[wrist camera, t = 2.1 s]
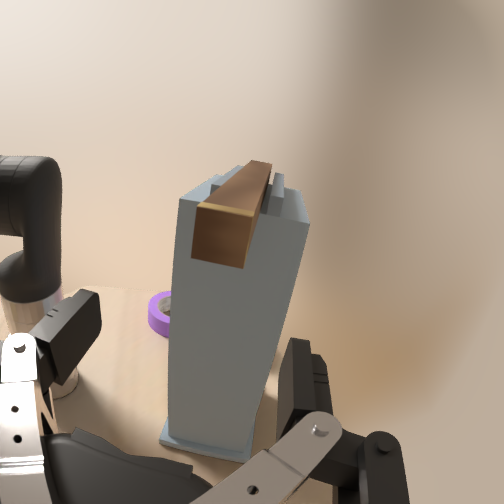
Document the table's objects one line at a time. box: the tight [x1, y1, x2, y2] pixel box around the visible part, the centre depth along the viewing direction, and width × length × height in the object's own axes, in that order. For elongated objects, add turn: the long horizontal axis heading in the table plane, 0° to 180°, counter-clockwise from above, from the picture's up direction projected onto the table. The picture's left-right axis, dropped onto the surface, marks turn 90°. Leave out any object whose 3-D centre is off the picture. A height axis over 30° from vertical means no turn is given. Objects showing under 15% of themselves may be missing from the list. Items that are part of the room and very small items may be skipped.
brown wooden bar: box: [191, 160, 272, 269], centre depth 25 cm, size 2×24×2 cm, turn 175°
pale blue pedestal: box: [159, 166, 310, 463], centre depth 35 cm, size 12×16×34 cm
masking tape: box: [148, 291, 171, 338], centre depth 61 cm, size 12×12×4 cm
